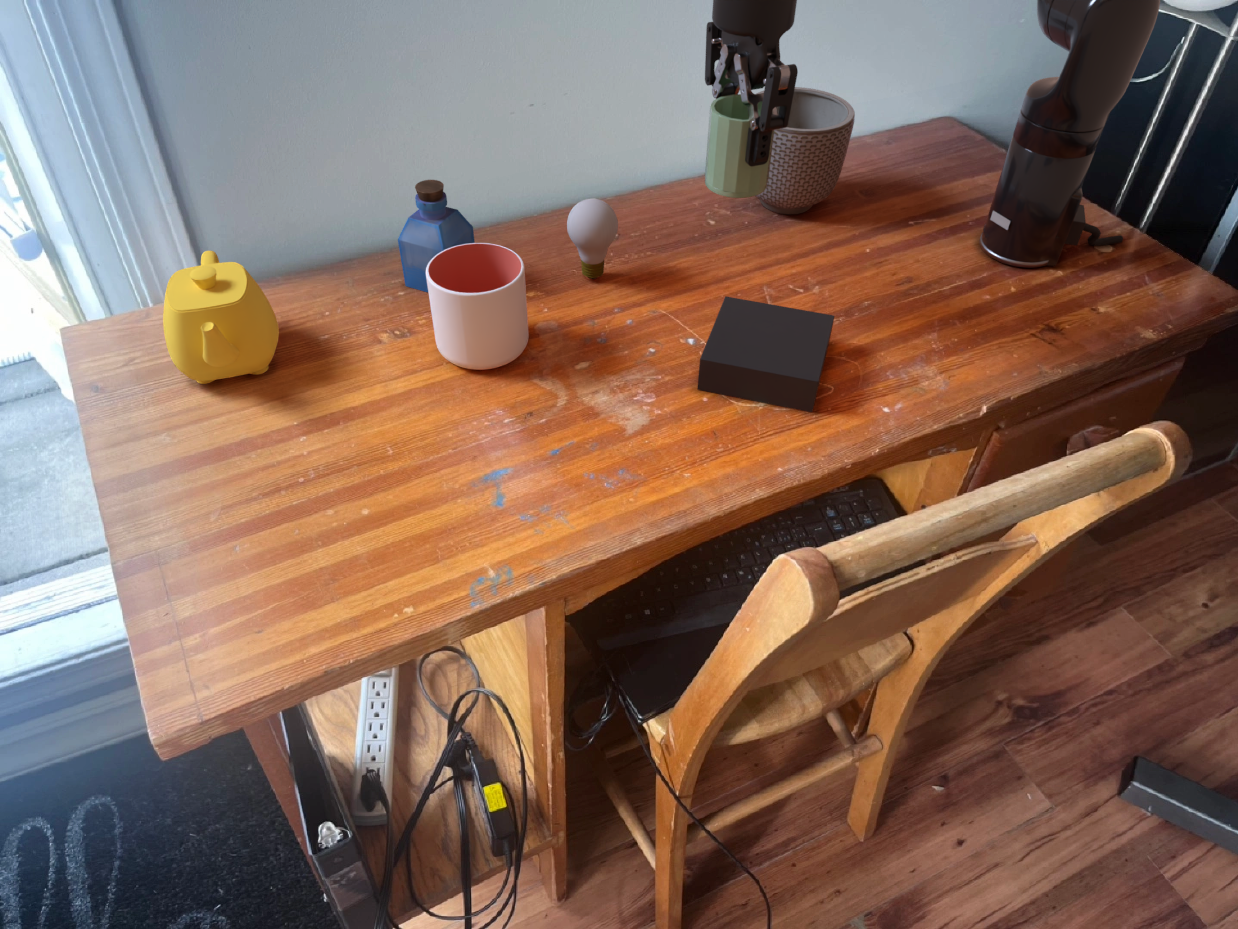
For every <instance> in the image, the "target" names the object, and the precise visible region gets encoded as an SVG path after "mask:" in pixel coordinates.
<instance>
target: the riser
mask: <svg viewBox="0 0 1238 929" xmlns="http://www.w3.org/2000/svg"><path fill="white" fill-rule="evenodd" d="M834 320H835V315H833V314H827V313H823V312H822V313H821V312H816V311H810V310H806V309H800V308H794V307H788V306H783V305H782V306H781V305H778V304H771V303H766V302H760V301H754V300H749V299H745V298H743V299H742V298H737V297H732V296H725V297H724V299H723V301H722V303H721V306H720V309H719V312H718V314H717V316H716V317H715V321H714V323H713V326H712V329H711V331H710V333H709V336H708V339H707V341H706V342H705V345H704V348H703V351H702V353H701V356H700V358H699V364H698V365H699V368H698V378H697V391H703V392H707V393H713V394H716V395H723V396H727V397H732V398H737V399H743V400H748V401H753V402H756V403H757V402H758V403H763V404H768V405H773V406H777V407H782V408H788V409H793V410H798V411H802V412H808V413H813V412H814V407H815V403H816V399H817V395H818V391H819V387H820V383H821V378H822V374H823V370H824V367H825V362H826V358H827V354H828V349H829V346H830V342H831V337H832V336H831V335H832V330H833V326H834V322H835V321H834Z"/></svg>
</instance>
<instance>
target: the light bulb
mask: <svg viewBox="0 0 1238 929" xmlns="http://www.w3.org/2000/svg"><path fill="white" fill-rule="evenodd" d="M571 208H572V209H571V210H570V211H569V214H568V216H567V221H566V229H567V234H568V237H569V238H570V240H571V242H572V243H573V245H574V246H575V247H576V249H577V252H578V256H579V258H580V264H581V274H582V275H583V276H584V277H586V278H588V279H589V280H596V279H597V278H599V277H602V276H603V275H604V272H605V259H606V258H607V257H606V256H607V255H608V250H609V247H610V246H611V245H612V243H613V242H614V240H615V239H616V237H617V234H618V231H619V221H618V216H617V214H616V212H615V210H614V209H613V207H612V206H611V205H610V204H609V203H607V202H606V201H604V200H602V199H600V198H585V199H582V200H580V201H579V202H578V203H576V204H575V205H574V206H573V207H571Z"/></svg>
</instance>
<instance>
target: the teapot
mask: <svg viewBox="0 0 1238 929" xmlns="http://www.w3.org/2000/svg"><path fill="white" fill-rule="evenodd" d="M162 326H163V335H164V341H165V344H166V349H167V351H168V354H169V357H170V359H171V361H172V363H173V365H174V367H176V369H177V370H178V371H179V372H180V373H182V374H183V375H184V376H186V377H187V378H188V379H191V380H192V381H196V383H198V384H201V385H205V384H210V383H213V382H214V381H215V380H221V379H228V378H233V377H238V376H239V377H240V376H243V375H248V374H250V375H262V374H264V373H265V372H267V371H268V370H269V367H270V366H269V364H270V363H271V362H272V360H273V357H274V355H275V353H276V349H277V346H278V342H279V335H280V330H279V328H280V327H279V322H278V318H277V316H276V314H275V311H274V309H273V307H272V305H271V303H270V301H269V299H268V297H267V296H266V294H265V293H264V291H263V289H262V288H261V287H260V285H259V284H258V282H257V281H256V280H255V279H254V278H253V276H252V275H251V274H250V272H249V271H248V270H247V269H246V268H245V267H244V266H243V265H242V264H241V263H239V262H235V261H224V262H220V259H219V256H218V254H217V253H216V252H215V251H214V250H205V251H204V252H202V254H201V257H200V265H195V266H190V267H186V268H181V269H178V270H176V271H175V272H174V273H173V274H172V275H171V276H170V278H169V279H168V282H167V285H166V289H165V294H164V302H163V312H162Z"/></svg>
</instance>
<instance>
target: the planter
mask: <svg viewBox="0 0 1238 929" xmlns="http://www.w3.org/2000/svg"><path fill="white" fill-rule="evenodd" d="M761 93H764V90H761V91H759V92H756V93H755V94H761ZM776 108H777V115H778V114H779V108H780V107H776ZM855 113H856V112H855V110H854V108H853V106H852V105H851V104H850V103H849V102H848V101H847V100H846V99H844V98H842V97H840V96H838V95H836V94H834V93H831V92H828V91H825V90H821V89H817V88H816V89H815V88H812V87H811V88H809V87H802V86H801V87H800V86H795V89H794V95H793V100H792V105H791V111H790V116H789V121H788V126H787V127H786V128H781V129H775V130H774V137H773V145H772V153H771V161H770V169H769V177H768V181H767V187H766V189H765V190H764V191H763V192H762V193H760V194H759V195H756V196H755V197H756V198H757V199H758V200H759V202H760V204H761V205H762V206H763V207H764V208H765V209H767V210H768V211H771V212H773V213H776V214H779V215H780V214H781V215H799V214H803V213H806V212H807V211H809V210H810V209H811V208H812V207H813V206H814V205H817V204H820V203H821V202H822V201H824V200H825V199H826V198H828V197H829V196H830V195H831V193H832V192H833V191H834V189H835V188H836V186H837V183H838V181H839V179H840V176H841V173H842V170H843V166H844V163H845V160H846V157H847V153H848V149H849V146H850V141H851V137H852V133H853V129H854V125H855V121H856V120H855V119H856V118H855V116H856V114H855Z"/></svg>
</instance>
